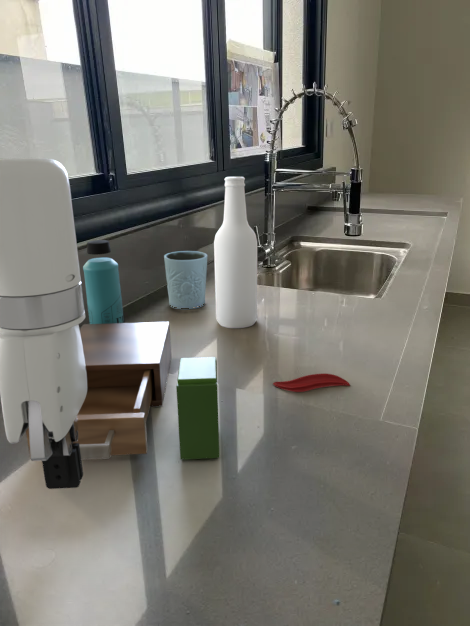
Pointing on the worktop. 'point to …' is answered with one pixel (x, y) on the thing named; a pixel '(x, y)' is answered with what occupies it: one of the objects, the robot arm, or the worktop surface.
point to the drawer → (114, 413)
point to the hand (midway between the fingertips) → (65, 482)
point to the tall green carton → (198, 408)
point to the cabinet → (130, 350)
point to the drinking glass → (186, 278)
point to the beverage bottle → (102, 286)
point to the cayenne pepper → (311, 382)
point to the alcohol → (235, 261)
